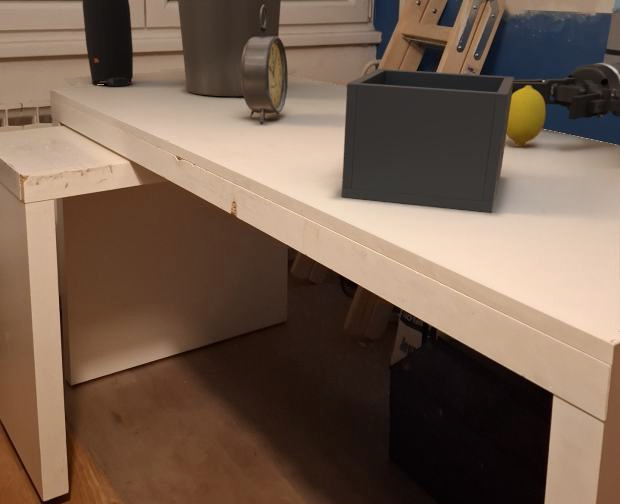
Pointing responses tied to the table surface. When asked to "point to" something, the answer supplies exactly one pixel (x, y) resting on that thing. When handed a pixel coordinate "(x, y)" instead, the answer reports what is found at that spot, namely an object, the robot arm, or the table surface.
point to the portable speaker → (109, 41)
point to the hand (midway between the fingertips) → (525, 101)
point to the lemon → (525, 115)
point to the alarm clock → (264, 73)
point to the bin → (426, 138)
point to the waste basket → (221, 40)
